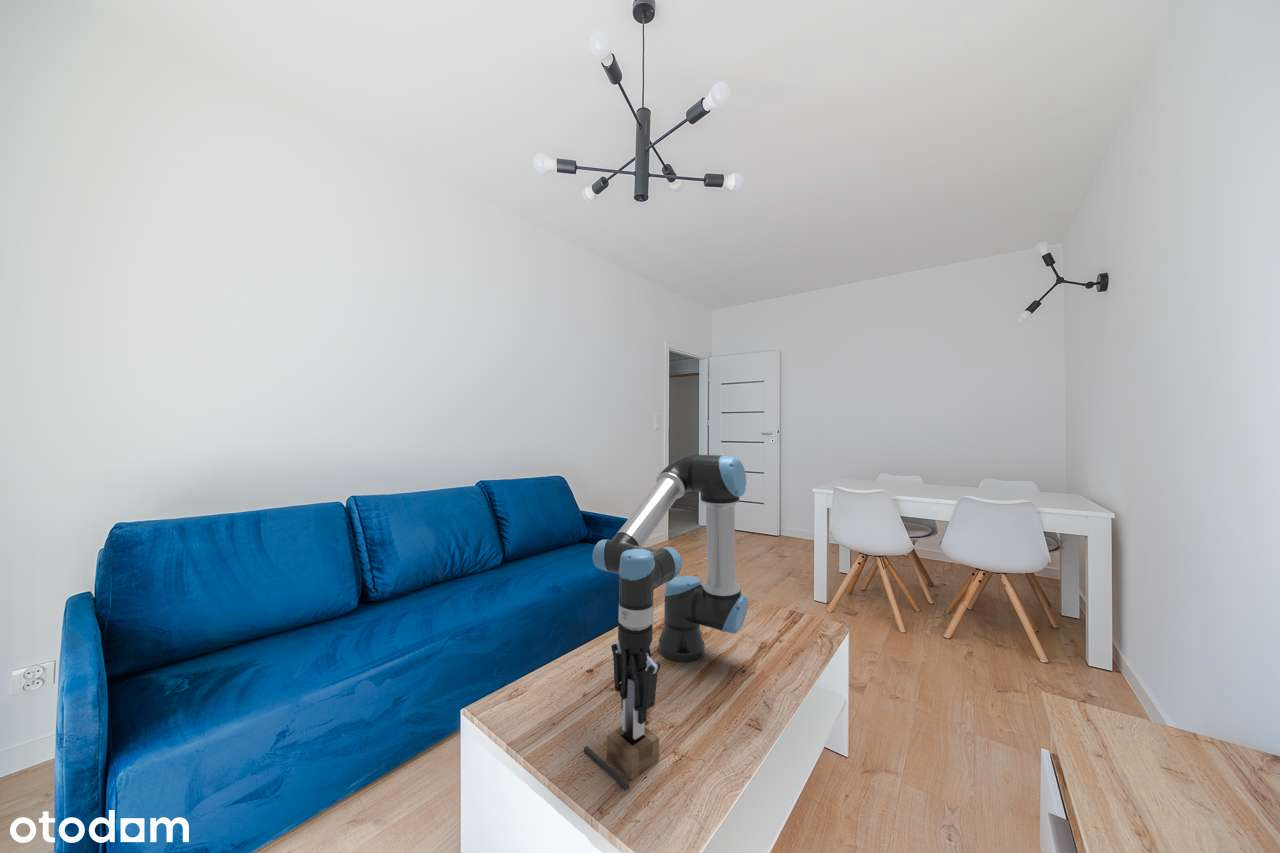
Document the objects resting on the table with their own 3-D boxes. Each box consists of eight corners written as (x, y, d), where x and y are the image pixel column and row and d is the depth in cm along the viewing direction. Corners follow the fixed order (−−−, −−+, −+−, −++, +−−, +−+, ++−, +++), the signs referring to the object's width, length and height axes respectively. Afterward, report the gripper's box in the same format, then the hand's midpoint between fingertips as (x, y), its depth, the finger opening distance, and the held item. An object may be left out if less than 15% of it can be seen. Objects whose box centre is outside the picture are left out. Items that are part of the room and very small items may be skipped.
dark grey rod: (583, 751, 96) (583, 747, 96) (586, 749, 96) (586, 745, 96) (626, 790, 86) (626, 786, 86) (628, 787, 86) (629, 783, 86)
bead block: (606, 758, 94) (607, 735, 94) (633, 740, 99) (634, 718, 99) (631, 780, 88) (632, 755, 88) (658, 760, 94) (659, 737, 94)
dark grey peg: (623, 742, 94) (625, 678, 94) (633, 736, 96) (634, 673, 96) (632, 749, 92) (633, 683, 92) (641, 743, 94) (643, 678, 94)
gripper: (599, 616, 97) (597, 721, 97) (648, 642, 86) (646, 761, 86) (624, 607, 102) (622, 706, 102) (674, 630, 91) (671, 742, 91)
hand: (633, 731), depth 94 cm, fingers closed on dark grey peg, 3 cm apart
